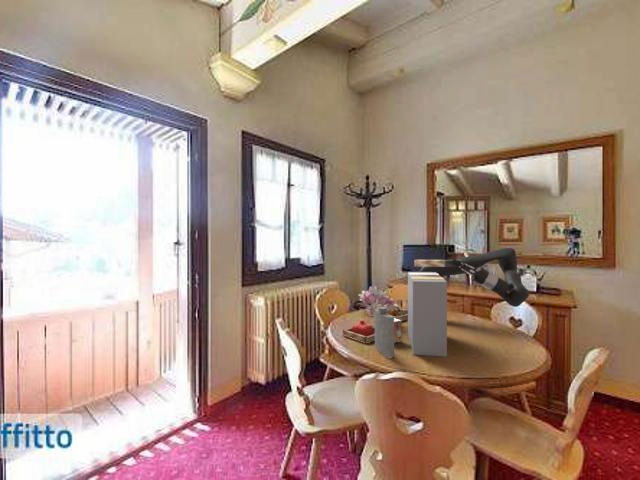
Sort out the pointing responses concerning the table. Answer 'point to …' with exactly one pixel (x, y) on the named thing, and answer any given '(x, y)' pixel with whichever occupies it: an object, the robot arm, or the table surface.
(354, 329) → the butter dish
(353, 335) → the frame
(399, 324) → the small box
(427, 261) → the dark brown square bar
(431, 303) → the cabinet
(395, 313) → the nautilus
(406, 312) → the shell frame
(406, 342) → the table surface
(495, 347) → the table surface
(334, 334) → the table surface
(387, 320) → the hip flask
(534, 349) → the table surface
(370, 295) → the flower
